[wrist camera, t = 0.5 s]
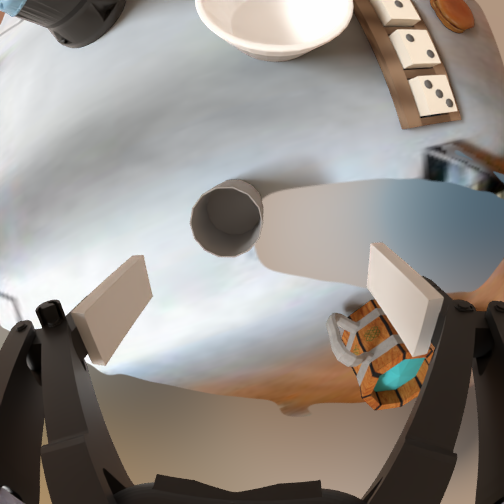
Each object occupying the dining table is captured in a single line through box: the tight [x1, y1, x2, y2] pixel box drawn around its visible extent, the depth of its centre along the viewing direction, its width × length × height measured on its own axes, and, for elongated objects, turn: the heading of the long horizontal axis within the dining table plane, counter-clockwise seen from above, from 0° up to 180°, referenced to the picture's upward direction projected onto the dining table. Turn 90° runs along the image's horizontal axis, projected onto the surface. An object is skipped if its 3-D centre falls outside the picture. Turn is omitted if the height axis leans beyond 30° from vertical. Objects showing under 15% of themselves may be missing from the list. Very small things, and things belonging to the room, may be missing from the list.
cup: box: [190, 180, 263, 257], centre depth 36 cm, size 8×8×10 cm
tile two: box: [389, 29, 441, 69], centre depth 27 cm, size 6×6×4 cm
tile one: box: [369, 0, 421, 27], centre depth 25 cm, size 6×6×4 cm
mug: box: [326, 300, 433, 410], centre depth 40 cm, size 20×14×15 cm
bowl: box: [195, 0, 354, 62], centre depth 26 cm, size 19×19×11 cm
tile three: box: [408, 75, 457, 116], centre depth 29 cm, size 6×6×4 cm
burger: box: [430, 0, 474, 33], centre depth 23 cm, size 10×9×5 cm
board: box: [353, 0, 461, 129], centre depth 29 cm, size 25×12×2 cm, turn 19°
